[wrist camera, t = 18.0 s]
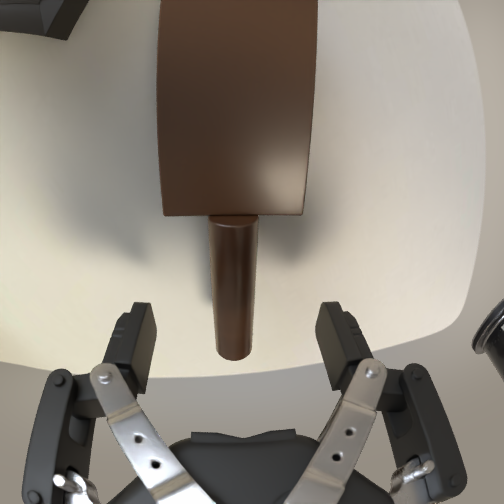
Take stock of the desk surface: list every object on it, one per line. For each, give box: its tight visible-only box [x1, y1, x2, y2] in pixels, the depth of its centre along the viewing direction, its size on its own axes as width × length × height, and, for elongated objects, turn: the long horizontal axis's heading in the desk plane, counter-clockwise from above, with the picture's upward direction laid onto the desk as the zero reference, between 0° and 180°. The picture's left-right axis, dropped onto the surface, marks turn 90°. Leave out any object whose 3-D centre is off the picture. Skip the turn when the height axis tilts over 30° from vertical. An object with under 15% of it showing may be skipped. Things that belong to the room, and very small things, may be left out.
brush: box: [156, 0, 318, 361], centre depth 11 cm, size 18×6×4 cm, turn 178°
